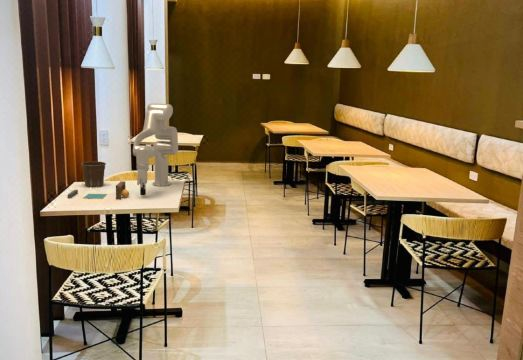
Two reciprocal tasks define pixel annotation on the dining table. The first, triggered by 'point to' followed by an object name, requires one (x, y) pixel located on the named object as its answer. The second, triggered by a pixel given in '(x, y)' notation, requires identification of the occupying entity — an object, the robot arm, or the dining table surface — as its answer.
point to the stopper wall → (73, 193)
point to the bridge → (120, 189)
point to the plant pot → (93, 173)
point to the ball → (125, 193)
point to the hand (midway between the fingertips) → (143, 195)
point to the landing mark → (95, 196)
